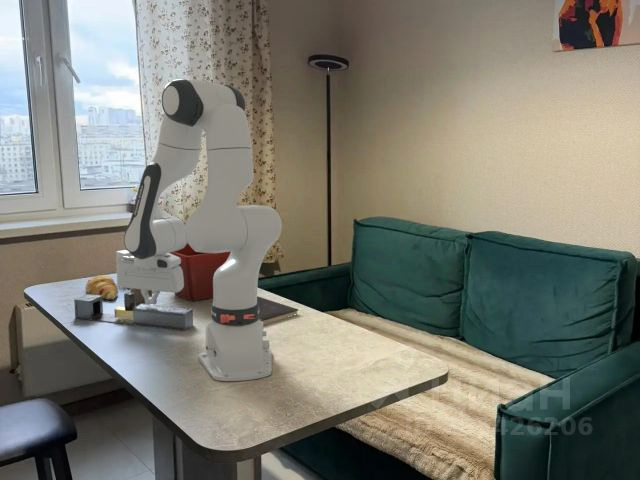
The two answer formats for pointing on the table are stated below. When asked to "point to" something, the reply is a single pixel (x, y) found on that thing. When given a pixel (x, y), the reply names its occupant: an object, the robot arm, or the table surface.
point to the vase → (140, 296)
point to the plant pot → (198, 272)
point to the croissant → (102, 287)
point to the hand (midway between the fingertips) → (150, 303)
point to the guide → (135, 314)
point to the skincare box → (120, 254)
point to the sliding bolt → (126, 307)
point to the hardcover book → (273, 310)
